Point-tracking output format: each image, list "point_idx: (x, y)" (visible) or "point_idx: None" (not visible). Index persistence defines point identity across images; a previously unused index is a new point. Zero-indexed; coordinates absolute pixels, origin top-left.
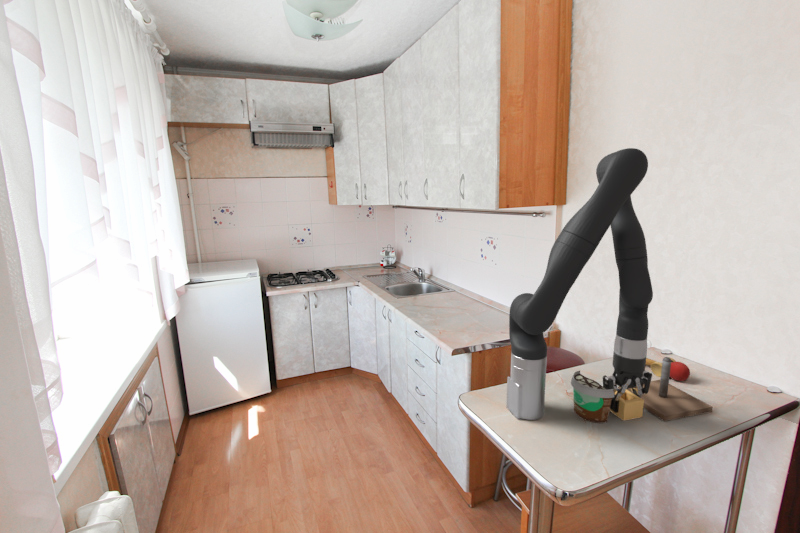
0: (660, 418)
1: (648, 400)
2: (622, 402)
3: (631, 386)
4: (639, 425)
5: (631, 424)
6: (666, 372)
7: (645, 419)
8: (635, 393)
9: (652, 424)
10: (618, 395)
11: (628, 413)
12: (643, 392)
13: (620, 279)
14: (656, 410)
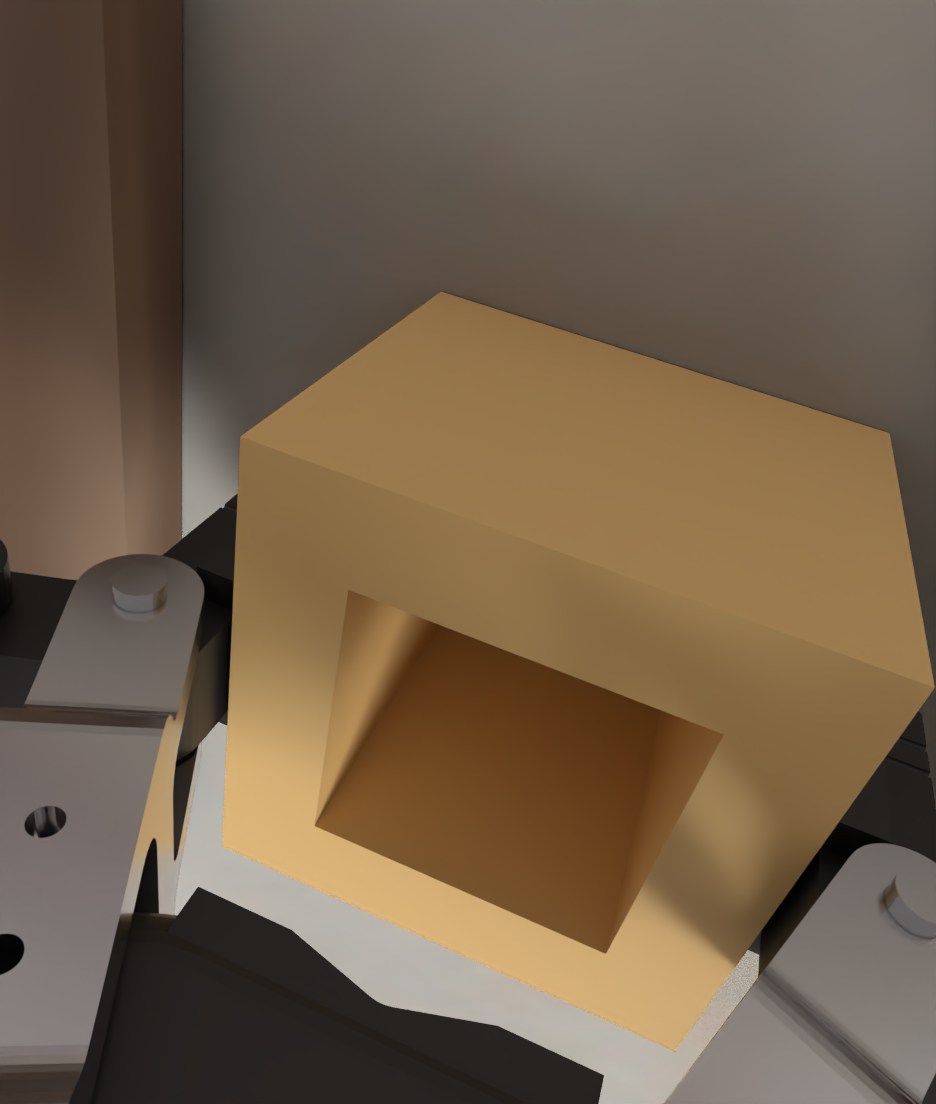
0: (179, 62)
1: (6, 456)
2: (883, 744)
3: (292, 1023)
4: (797, 137)
5: (906, 261)
6: None
7: (457, 208)
8: (204, 689)
9: (505, 3)
10: (907, 1003)
11: (770, 457)
12: (12, 593)
13: None
14: (105, 195)
